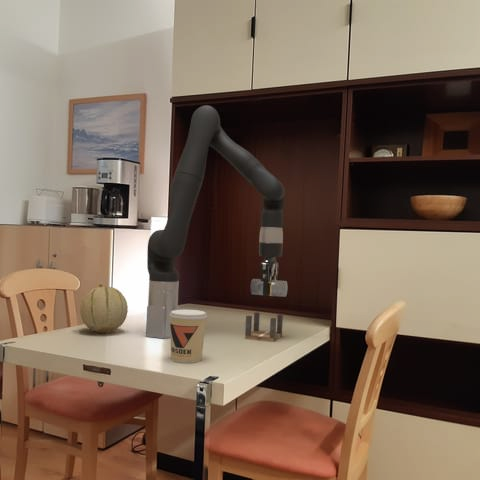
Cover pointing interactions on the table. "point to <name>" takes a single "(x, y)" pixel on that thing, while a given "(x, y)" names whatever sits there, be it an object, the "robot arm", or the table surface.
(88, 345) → the table surface
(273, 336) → the cylinder holder stand
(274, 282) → the grey cylinder
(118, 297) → the cantaloupe
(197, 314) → the coffee cup
